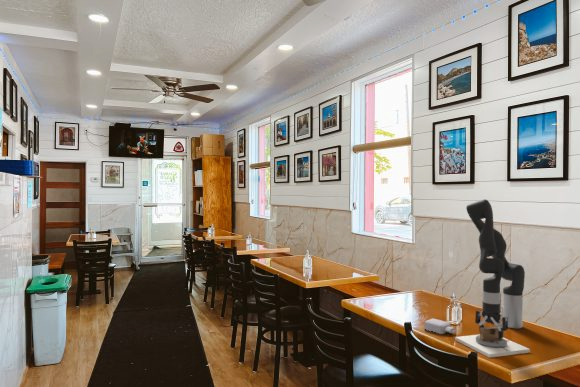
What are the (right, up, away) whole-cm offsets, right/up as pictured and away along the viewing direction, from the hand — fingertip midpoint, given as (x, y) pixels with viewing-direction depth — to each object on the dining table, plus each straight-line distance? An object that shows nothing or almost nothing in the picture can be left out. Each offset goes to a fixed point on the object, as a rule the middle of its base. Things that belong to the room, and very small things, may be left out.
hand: (491, 336), depth 192 cm
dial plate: (0, -5, 0) cm, 5 cm away
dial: (0, -3, 0) cm, 3 cm away
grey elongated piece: (-15, -5, +19) cm, 25 cm away
